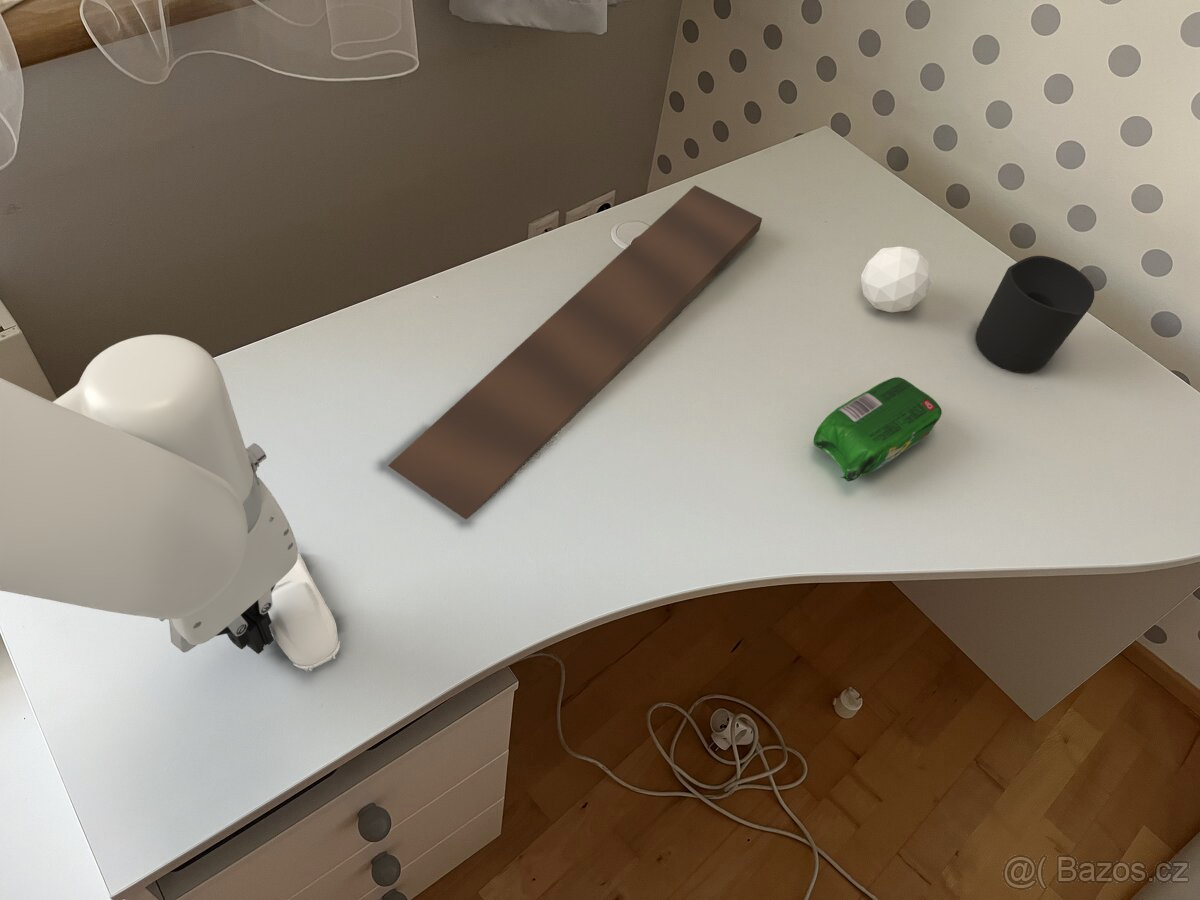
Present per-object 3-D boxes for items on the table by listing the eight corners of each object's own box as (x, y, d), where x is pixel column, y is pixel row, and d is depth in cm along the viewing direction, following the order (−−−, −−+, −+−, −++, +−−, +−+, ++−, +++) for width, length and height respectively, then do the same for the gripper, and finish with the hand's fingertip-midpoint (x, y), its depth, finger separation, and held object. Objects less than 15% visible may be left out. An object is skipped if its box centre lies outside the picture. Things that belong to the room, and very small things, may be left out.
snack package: (792, 453, 92) (807, 420, 88) (891, 392, 99) (908, 359, 95) (843, 500, 89) (860, 468, 85) (941, 434, 96) (961, 401, 92)
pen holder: (1060, 380, 103) (1106, 316, 95) (980, 372, 102) (1020, 307, 95) (1038, 324, 109) (1080, 259, 101) (962, 316, 108) (999, 250, 101)
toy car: (294, 548, 79) (287, 526, 77) (352, 654, 74) (347, 635, 71) (240, 572, 77) (231, 551, 75) (295, 683, 72) (288, 665, 69)
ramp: (465, 533, 84) (464, 500, 80) (387, 479, 88) (382, 444, 83) (753, 252, 116) (763, 217, 111) (688, 219, 119) (695, 184, 114)
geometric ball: (878, 309, 112) (918, 253, 109) (914, 333, 105) (957, 275, 103) (836, 283, 108) (876, 225, 106) (871, 307, 102) (914, 246, 99)
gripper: (249, 410, 64) (291, 552, 78) (56, 547, 55) (143, 679, 69) (325, 462, 61) (354, 599, 75) (136, 614, 53) (209, 736, 67)
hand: (253, 637), depth 72 cm, fingers closed
